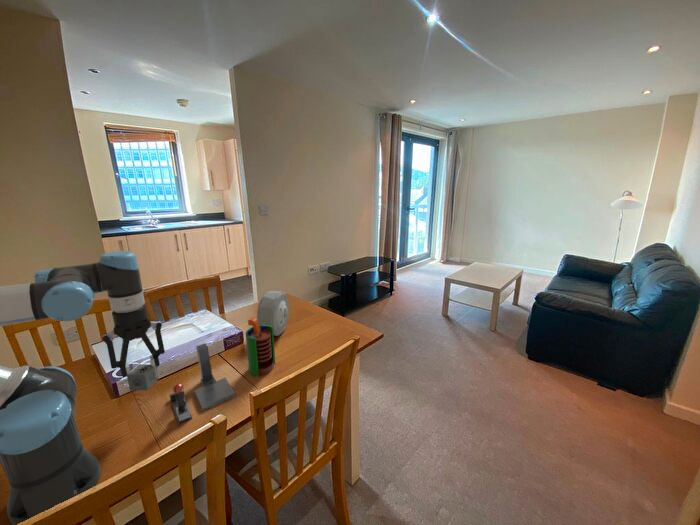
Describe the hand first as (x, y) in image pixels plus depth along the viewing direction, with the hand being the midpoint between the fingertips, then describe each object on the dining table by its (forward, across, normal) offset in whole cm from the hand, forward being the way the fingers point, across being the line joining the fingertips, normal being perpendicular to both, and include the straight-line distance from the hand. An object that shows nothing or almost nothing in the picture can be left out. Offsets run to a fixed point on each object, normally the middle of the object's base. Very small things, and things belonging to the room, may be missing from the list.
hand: (143, 380), depth 87 cm
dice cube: (+1, 0, -1) cm, 1 cm away
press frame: (+12, +14, -2) cm, 19 cm away
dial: (+11, +52, +21) cm, 57 cm away
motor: (+12, +36, 0) cm, 38 cm away
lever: (+12, +8, -8) cm, 16 cm away
